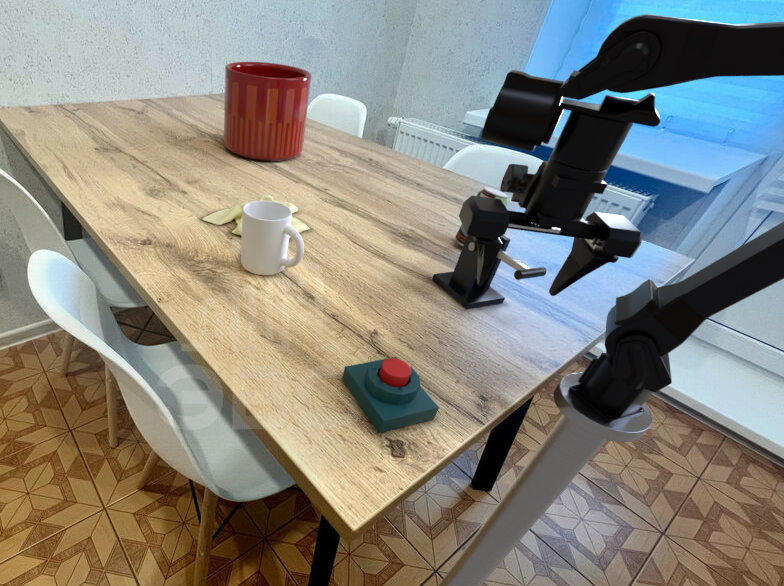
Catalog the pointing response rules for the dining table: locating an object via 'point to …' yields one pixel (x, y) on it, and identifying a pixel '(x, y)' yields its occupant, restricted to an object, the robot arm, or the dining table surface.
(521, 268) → the lever
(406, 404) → the button block
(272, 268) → the mug
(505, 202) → the beverage can
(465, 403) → the dining table surface
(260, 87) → the planter
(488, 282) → the bracket
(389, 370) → the button
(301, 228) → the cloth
